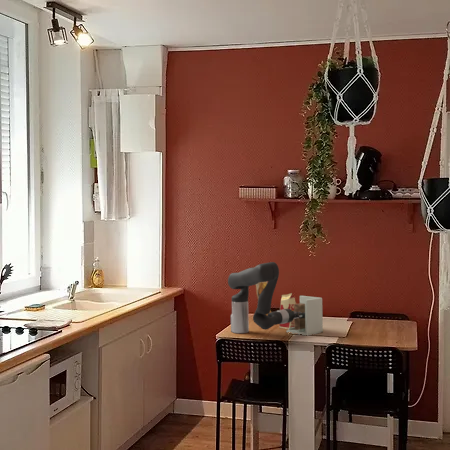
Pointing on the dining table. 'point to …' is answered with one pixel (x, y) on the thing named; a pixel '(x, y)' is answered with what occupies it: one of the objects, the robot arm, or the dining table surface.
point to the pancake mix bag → (260, 289)
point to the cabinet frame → (311, 316)
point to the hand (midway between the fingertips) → (302, 312)
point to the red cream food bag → (287, 303)
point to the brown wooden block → (298, 322)
